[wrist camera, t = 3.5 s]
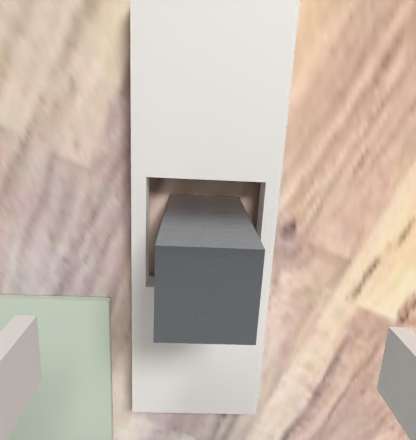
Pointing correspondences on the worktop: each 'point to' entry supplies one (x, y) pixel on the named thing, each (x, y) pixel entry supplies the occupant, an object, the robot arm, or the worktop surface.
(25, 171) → the worktop surface
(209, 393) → the rail
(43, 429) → the pad
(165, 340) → the square block
